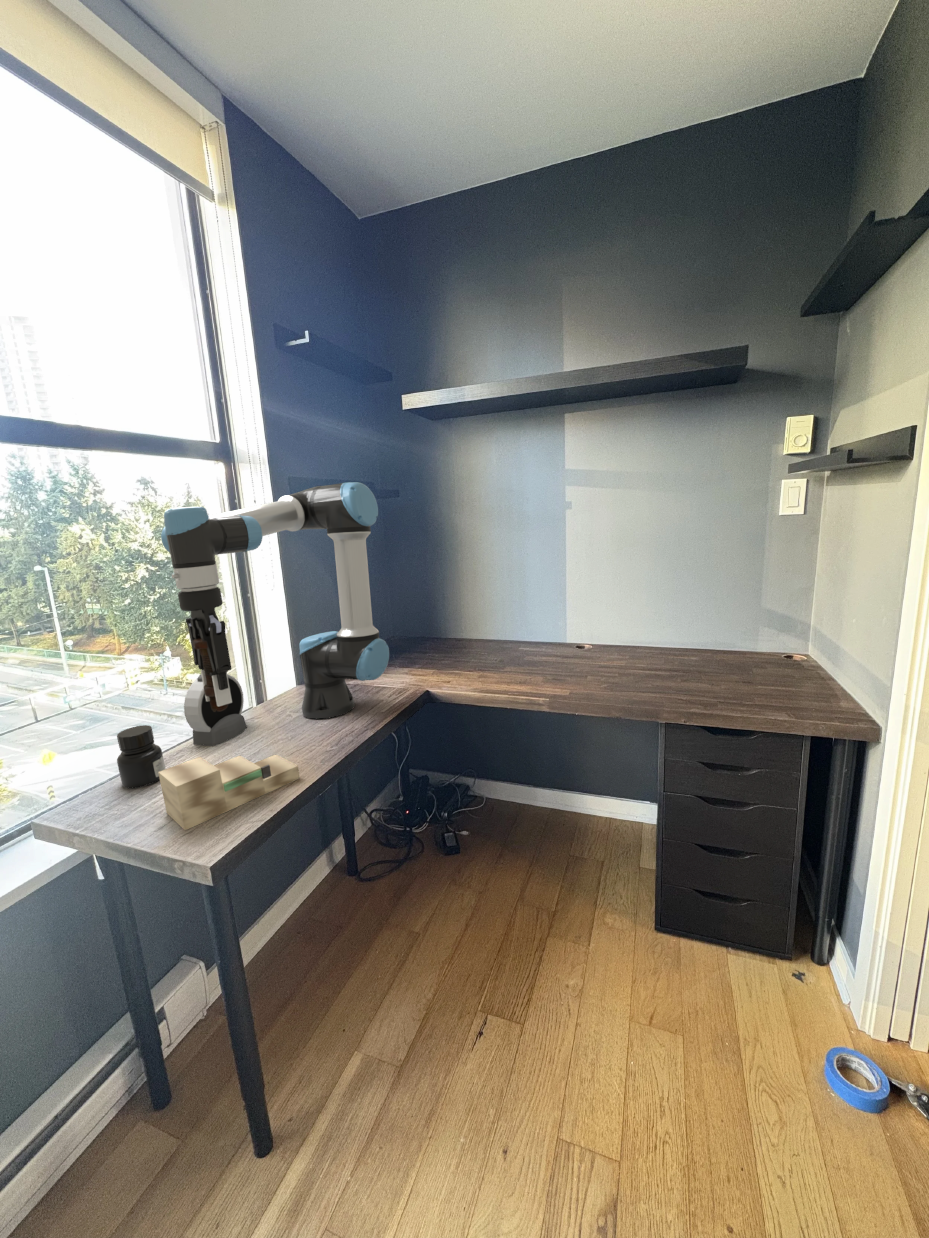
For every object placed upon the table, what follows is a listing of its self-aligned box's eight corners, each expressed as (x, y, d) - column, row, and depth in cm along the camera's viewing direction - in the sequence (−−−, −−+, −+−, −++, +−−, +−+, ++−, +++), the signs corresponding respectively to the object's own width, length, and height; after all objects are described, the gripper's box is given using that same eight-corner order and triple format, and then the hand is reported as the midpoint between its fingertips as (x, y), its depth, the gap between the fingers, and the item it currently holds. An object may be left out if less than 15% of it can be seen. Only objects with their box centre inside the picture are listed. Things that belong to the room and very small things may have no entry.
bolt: (239, 704, 110) (227, 634, 107) (229, 712, 105) (216, 639, 102) (211, 706, 110) (198, 636, 107) (200, 715, 105) (186, 642, 102)
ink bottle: (171, 779, 122) (161, 730, 119) (127, 794, 116) (115, 743, 113) (161, 766, 129) (151, 720, 126) (118, 780, 123) (107, 732, 121)
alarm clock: (213, 749, 136) (200, 682, 133) (182, 747, 140) (169, 680, 136) (256, 724, 151) (246, 663, 148) (227, 722, 154) (217, 662, 151)
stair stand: (277, 766, 123) (271, 730, 122) (301, 779, 116) (295, 740, 114) (166, 813, 107) (158, 771, 105) (186, 831, 99) (177, 787, 98)
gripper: (162, 589, 106) (183, 699, 111) (196, 593, 94) (218, 716, 99) (200, 584, 112) (219, 689, 116) (237, 586, 100) (256, 704, 104)
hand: (218, 701), depth 107 cm, fingers closed on bolt, 5 cm apart
